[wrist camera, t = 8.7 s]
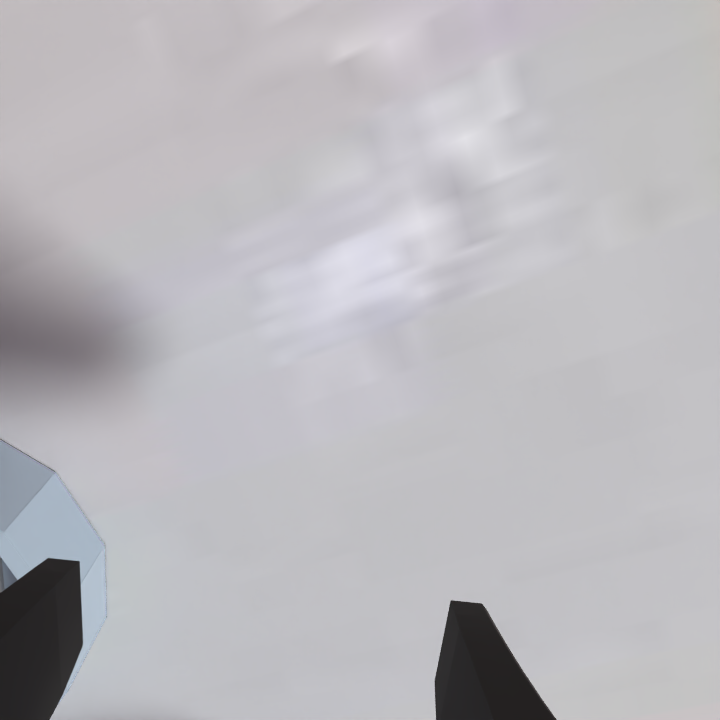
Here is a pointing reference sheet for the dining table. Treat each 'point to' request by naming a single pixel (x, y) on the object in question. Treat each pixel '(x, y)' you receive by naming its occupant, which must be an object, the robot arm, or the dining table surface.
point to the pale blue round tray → (48, 536)
